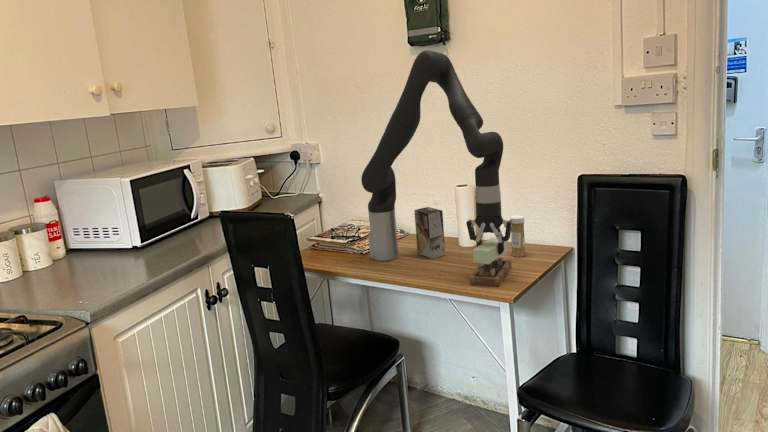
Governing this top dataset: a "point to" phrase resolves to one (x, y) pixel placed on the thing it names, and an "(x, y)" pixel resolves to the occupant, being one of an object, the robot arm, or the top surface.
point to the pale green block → (488, 251)
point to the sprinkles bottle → (517, 236)
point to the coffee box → (430, 232)
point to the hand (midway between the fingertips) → (490, 253)
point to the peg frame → (491, 273)
